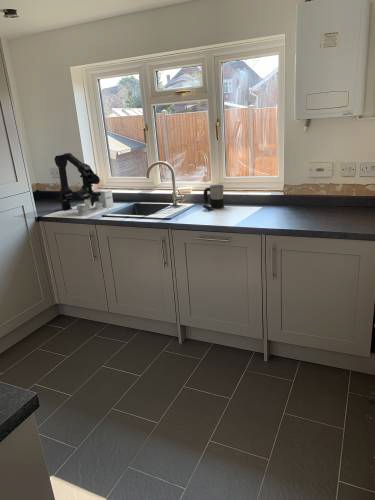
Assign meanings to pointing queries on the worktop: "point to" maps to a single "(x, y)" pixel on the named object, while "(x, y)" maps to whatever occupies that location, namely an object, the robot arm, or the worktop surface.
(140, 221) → the worktop surface
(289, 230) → the worktop surface
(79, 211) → the rail
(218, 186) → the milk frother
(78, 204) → the block
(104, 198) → the supplement box
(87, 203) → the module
